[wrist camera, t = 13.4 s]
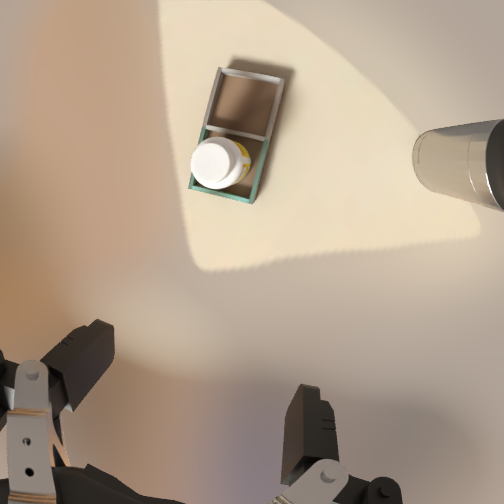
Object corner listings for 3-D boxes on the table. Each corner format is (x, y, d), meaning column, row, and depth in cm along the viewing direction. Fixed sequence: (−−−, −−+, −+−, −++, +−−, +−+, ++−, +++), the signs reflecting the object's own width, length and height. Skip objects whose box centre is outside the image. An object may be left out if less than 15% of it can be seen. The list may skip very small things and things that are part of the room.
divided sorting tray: (284, 84, 34) (284, 79, 31) (254, 201, 39) (252, 204, 36) (223, 73, 34) (218, 67, 31) (194, 186, 39) (188, 188, 36)
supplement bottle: (209, 141, 36) (182, 135, 26) (252, 141, 35) (239, 133, 26) (209, 183, 38) (182, 191, 28) (251, 184, 37) (238, 191, 27)
